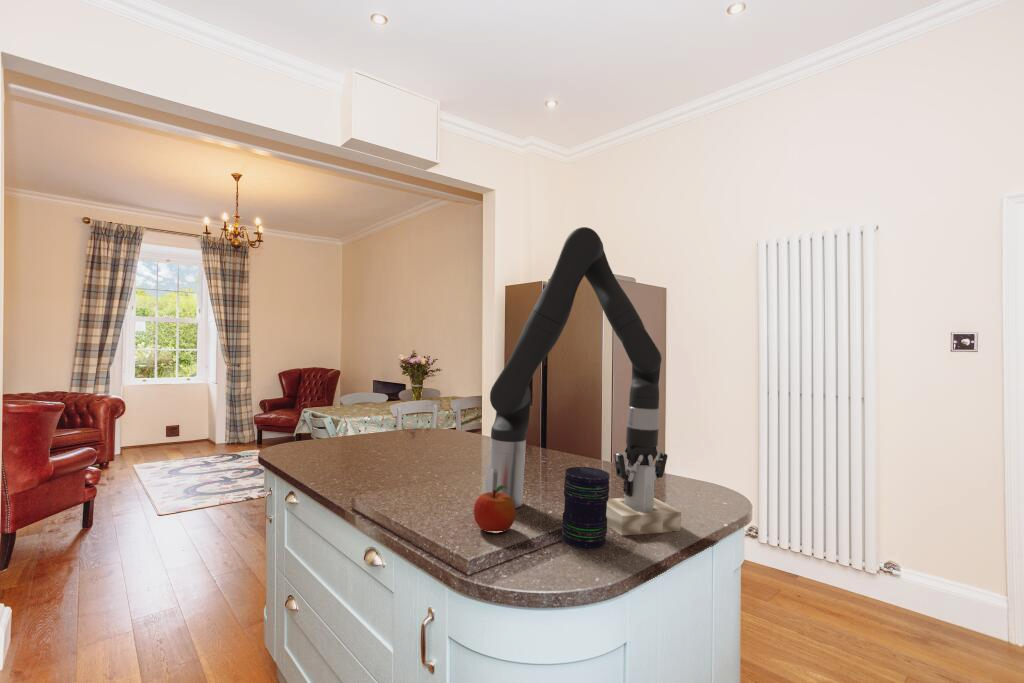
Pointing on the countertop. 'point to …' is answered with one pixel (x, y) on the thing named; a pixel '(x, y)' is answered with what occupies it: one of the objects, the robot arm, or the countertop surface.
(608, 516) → the well block
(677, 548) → the countertop surface
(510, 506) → the fruit
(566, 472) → the storage jar
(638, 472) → the skincare box
